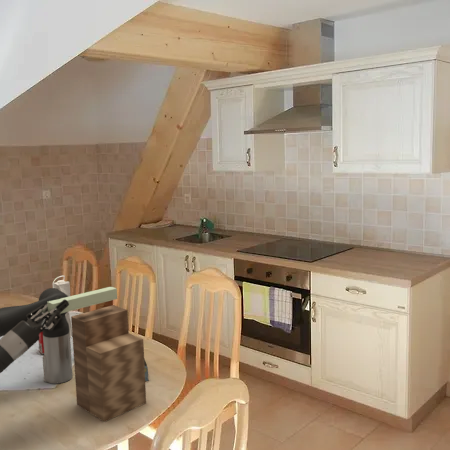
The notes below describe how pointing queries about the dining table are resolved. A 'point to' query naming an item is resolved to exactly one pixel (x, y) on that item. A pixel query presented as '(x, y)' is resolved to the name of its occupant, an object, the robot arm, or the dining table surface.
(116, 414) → the display stand
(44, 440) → the dining table surface
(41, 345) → the soda can
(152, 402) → the dining table surface
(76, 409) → the dining table surface
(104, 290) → the sage bar
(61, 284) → the white water bottle
